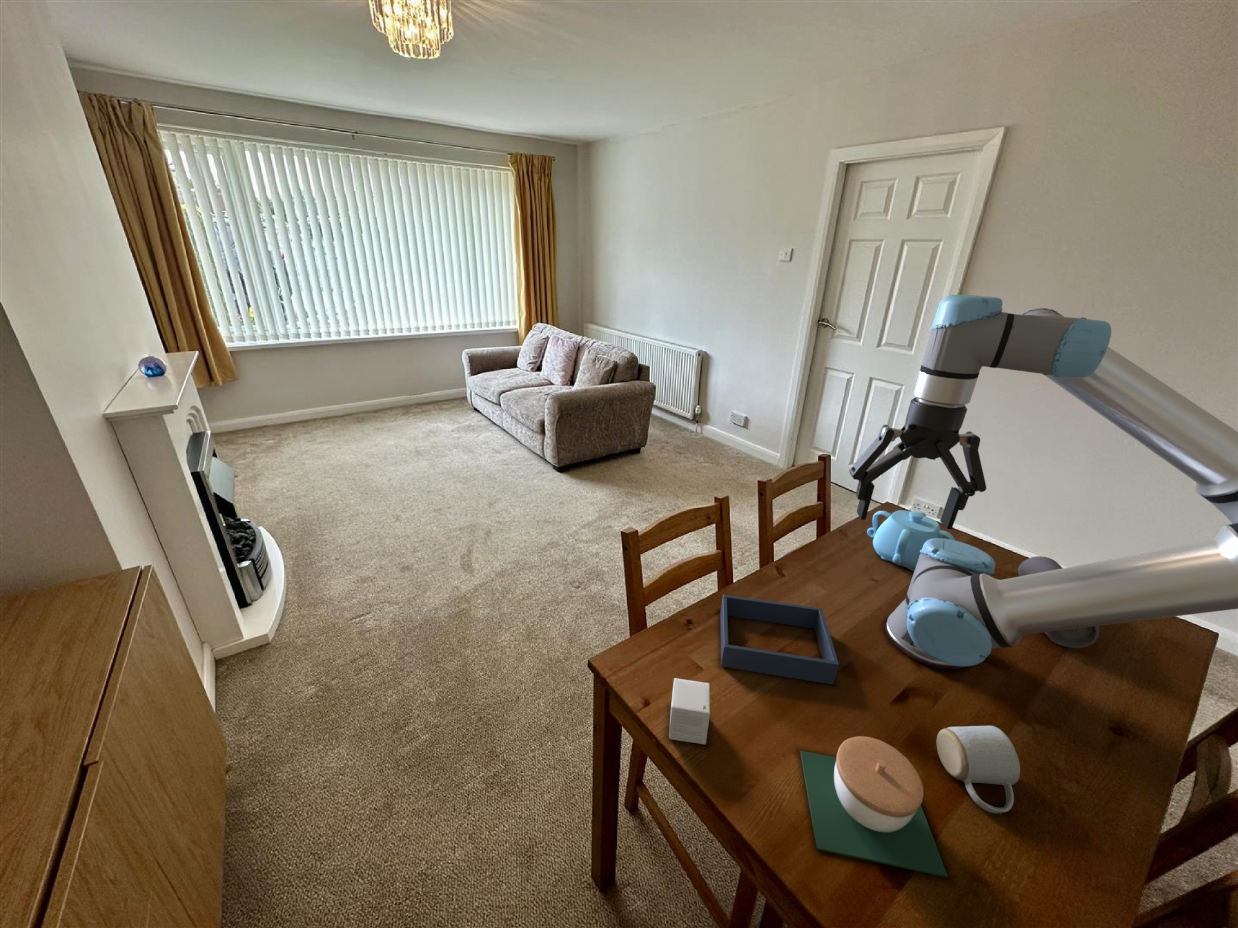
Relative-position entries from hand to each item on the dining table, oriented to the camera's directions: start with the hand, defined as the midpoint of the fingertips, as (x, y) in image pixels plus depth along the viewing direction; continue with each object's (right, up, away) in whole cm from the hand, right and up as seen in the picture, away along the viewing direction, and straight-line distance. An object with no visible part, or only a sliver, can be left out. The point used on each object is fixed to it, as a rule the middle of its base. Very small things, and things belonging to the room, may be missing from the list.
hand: (902, 520), depth 83 cm
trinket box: (-13, -40, -13) cm, 44 cm away
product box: (-37, -34, -2) cm, 51 cm away
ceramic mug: (+6, -39, -9) cm, 40 cm away
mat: (-13, -40, -13) cm, 44 cm away
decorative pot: (+27, -16, +46) cm, 56 cm away
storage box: (-18, -27, +15) cm, 36 cm away
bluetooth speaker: (+47, -25, +26) cm, 59 cm away
